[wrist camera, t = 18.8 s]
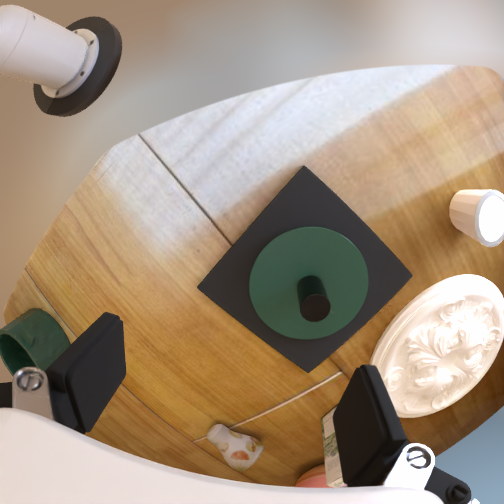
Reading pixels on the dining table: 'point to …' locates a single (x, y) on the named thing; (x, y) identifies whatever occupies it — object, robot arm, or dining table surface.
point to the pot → (32, 341)
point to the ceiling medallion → (440, 344)
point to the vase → (313, 478)
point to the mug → (235, 447)
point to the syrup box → (331, 453)
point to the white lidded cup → (479, 215)
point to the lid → (308, 282)
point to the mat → (290, 217)
